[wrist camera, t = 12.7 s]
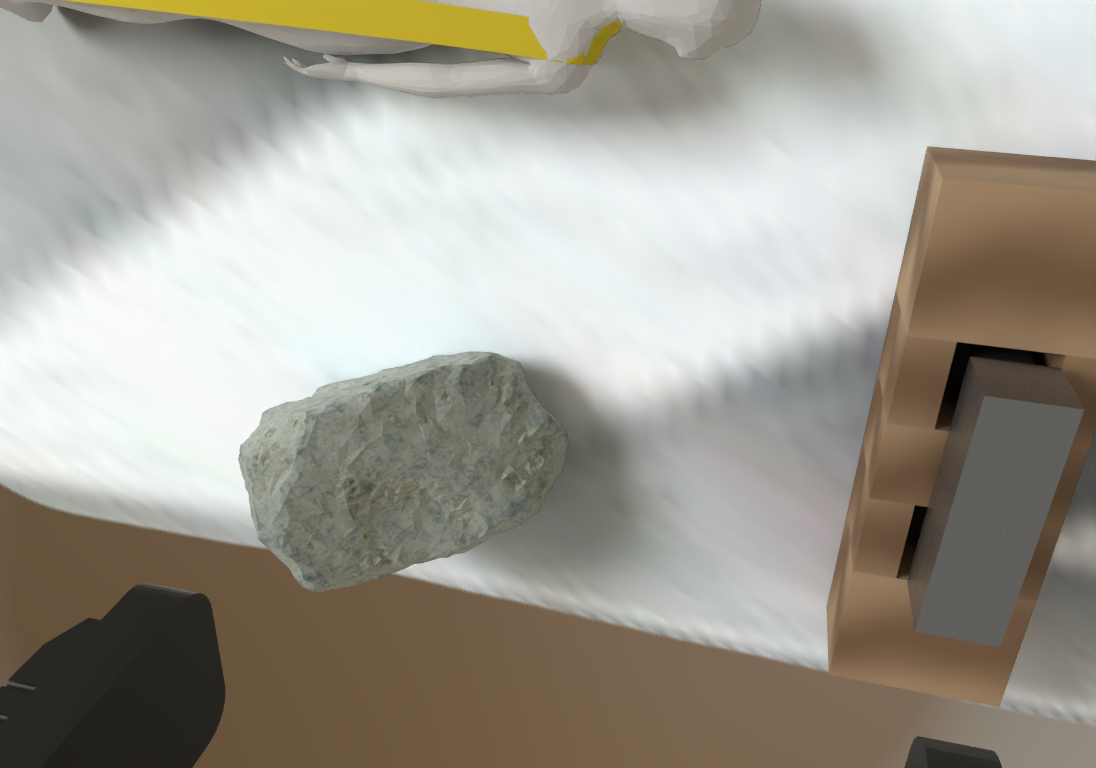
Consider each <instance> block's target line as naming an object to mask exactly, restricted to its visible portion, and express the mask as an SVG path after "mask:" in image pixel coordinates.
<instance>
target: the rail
mask: <svg viewBox="0 0 1096 768" xmlns="http://www.w3.org/2000/svg"><path fill="white" fill-rule="evenodd" d="M957 342H962V343H970V344H979V345H987V346H995V347H1003V348H1012V349H1020V350H1028V351H1029V353H1030V355H1031V357H1032V359H1033V361H1034V363H1035V365H1040V366H1047V367H1055V368H1062V369H1063V371H1064V373H1065V375H1066V377H1067V379H1068V380H1069V382H1070V384H1071V386H1072V388H1073V390H1074V391H1075V393H1076V395H1077V397H1078V399H1079V401H1080V402H1081V404H1082V406H1083V408H1084V412H1083V415H1082V418H1081V421H1080V424H1079V426H1078V429H1077V432H1076V435H1075V438H1074V441H1073V443H1072V446H1071V449H1070V452H1069V455H1068V457H1067V460H1066V463H1065V466H1064V469H1063V472H1062V474H1061V477H1060V480H1059V483H1058V486H1057V489H1056V491H1055V494H1054V497H1053V500H1052V503H1051V506H1050V508H1049V511H1048V514H1047V517H1046V520H1045V523H1044V525H1043V528H1042V531H1041V534H1040V537H1039V540H1038V542H1037V545H1036V548H1035V551H1034V554H1033V557H1032V559H1031V562H1030V565H1029V568H1028V571H1027V574H1026V576H1025V579H1024V582H1023V585H1022V588H1021V590H1020V593H1019V596H1018V599H1017V602H1016V605H1015V607H1014V610H1013V613H1012V616H1011V619H1010V622H1009V624H1008V627H1007V630H1006V633H1005V636H1004V639H1003V641H1002V644H1001V647H996V646H990V645H985V644H979V643H974V642H969V641H963V640H958V639H952V638H947V637H941V636H936V635H930V634H925V633H920V632H915V629H914V622H913V616H912V610H911V603H910V597H909V590H908V584H907V579H908V576H909V572H910V569H911V565H912V562H913V558H914V555H915V551H916V547H917V544H918V543H917V537H916V532H915V526H914V521H913V519H912V515H913V511H914V507H915V505H917V506H924V507H928V505H929V501H930V497H931V494H932V490H933V487H934V483H935V480H936V476H937V473H938V469H939V465H940V462H941V458H942V455H943V451H944V448H945V444H946V440H947V437H948V433H949V430H950V426H951V423H952V419H953V415H954V412H955V408H956V405H957V401H958V398H959V392H958V389H957V386H956V383H955V380H948V375H949V371H950V367H951V363H952V359H953V355H954V351H955V348H956V344H957ZM1095 431H1096V161H1091V160H1079V159H1067V158H1056V157H1044V156H1032V155H1020V154H1009V153H997V152H985V151H973V150H962V149H950V148H938V147H927V151H926V155H925V160H924V164H923V169H922V173H921V178H920V183H919V187H918V192H917V196H916V201H915V205H914V210H913V215H912V219H911V224H910V228H909V233H908V238H907V242H906V247H905V251H904V256H903V260H902V265H901V270H900V274H899V279H898V283H897V288H896V292H895V297H894V302H893V306H892V311H891V315H890V320H889V325H888V329H887V334H886V338H885V343H884V347H883V352H882V357H881V361H880V366H879V370H878V375H877V380H876V384H875V389H874V393H873V398H872V402H871V407H870V412H869V416H868V421H867V425H866V430H865V434H864V439H863V444H862V448H861V453H860V457H859V462H858V467H857V471H856V476H855V480H854V485H853V489H852V494H851V499H850V503H849V508H848V512H847V517H846V521H845V526H844V531H843V535H842V540H841V544H840V549H839V554H838V558H837V563H836V567H835V572H834V576H833V581H832V586H831V590H830V595H829V599H828V604H827V631H828V660H829V675H833V676H839V677H844V678H849V679H855V680H860V681H865V682H871V683H876V684H881V685H887V686H892V687H897V688H903V689H908V690H913V691H919V692H924V693H929V694H935V695H940V696H945V697H951V698H956V699H961V700H967V701H972V702H978V703H983V704H988V705H994V706H1000V703H1001V700H1002V697H1003V694H1004V692H1005V689H1006V686H1007V683H1008V680H1009V677H1010V674H1011V672H1012V669H1013V666H1014V663H1015V660H1016V657H1017V654H1018V651H1019V649H1020V646H1021V643H1022V640H1023V637H1024V634H1025V631H1026V629H1027V626H1028V623H1029V620H1030V617H1031V614H1032V611H1033V609H1034V606H1035V603H1036V600H1037V597H1038V594H1039V591H1040V588H1041V586H1042V583H1043V580H1044V577H1045V574H1046V571H1047V568H1048V566H1049V563H1050V560H1051V557H1052V554H1053V551H1054V548H1055V545H1056V543H1057V540H1058V537H1059V534H1060V531H1061V528H1062V525H1063V523H1064V520H1065V517H1066V514H1067V511H1068V508H1069V505H1070V502H1071V500H1072V497H1073V494H1074V491H1075V488H1076V485H1077V482H1078V480H1079V477H1080V474H1081V471H1082V468H1083V465H1084V462H1085V459H1086V457H1087V454H1088V451H1089V448H1090V445H1091V442H1092V439H1093V437H1094V434H1095Z"/></svg>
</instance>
